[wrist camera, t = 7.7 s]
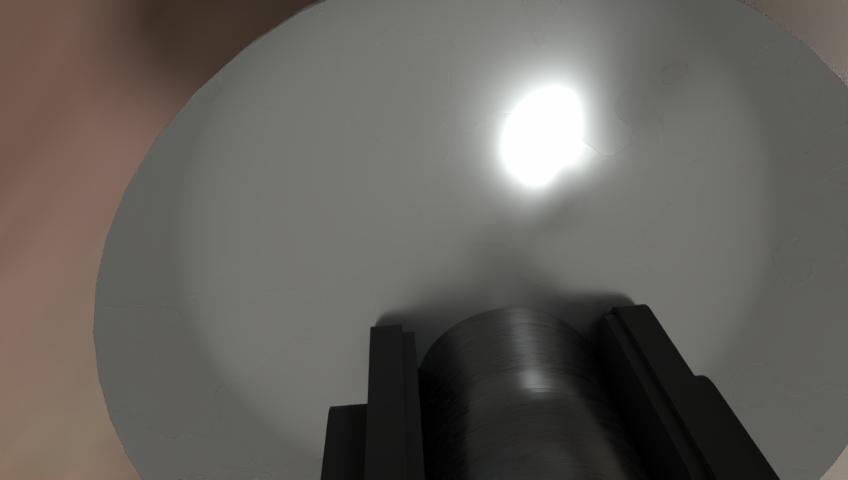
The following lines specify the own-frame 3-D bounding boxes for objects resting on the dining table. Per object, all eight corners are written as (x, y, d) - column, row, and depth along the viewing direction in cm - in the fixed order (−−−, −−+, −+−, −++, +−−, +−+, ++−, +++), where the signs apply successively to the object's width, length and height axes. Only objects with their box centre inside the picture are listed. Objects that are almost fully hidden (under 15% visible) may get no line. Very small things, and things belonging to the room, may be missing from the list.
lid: (973, -88, 9) (1744, -84, 4) (791, 561, 16) (1001, 896, 10) (-6, -11, 9) (-548, 99, 4) (210, 614, 16) (117, 985, 10)
